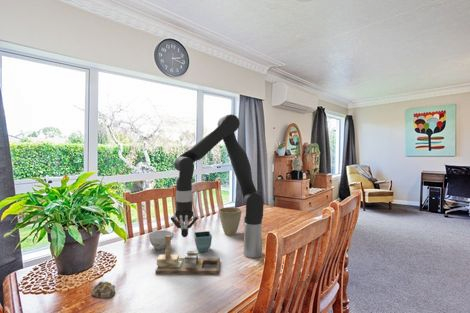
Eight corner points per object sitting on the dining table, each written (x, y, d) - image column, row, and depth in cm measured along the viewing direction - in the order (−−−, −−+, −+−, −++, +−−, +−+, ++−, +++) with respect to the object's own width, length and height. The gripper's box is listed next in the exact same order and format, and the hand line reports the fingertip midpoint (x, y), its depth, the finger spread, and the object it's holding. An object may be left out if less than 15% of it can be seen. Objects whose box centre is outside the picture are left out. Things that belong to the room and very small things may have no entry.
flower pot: (195, 254, 134) (195, 237, 134) (193, 247, 142) (193, 232, 142) (211, 252, 136) (212, 236, 136) (209, 246, 145) (209, 230, 144)
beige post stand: (178, 260, 122) (178, 233, 121) (176, 265, 117) (176, 237, 116) (159, 260, 122) (160, 233, 121) (156, 265, 117) (156, 237, 116)
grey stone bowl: (157, 254, 133) (157, 239, 133) (144, 248, 141) (144, 233, 141) (180, 246, 145) (180, 232, 144) (167, 240, 153) (167, 227, 152)
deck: (219, 261, 126) (219, 248, 126) (218, 274, 113) (218, 260, 113) (163, 261, 126) (163, 248, 125) (155, 274, 113) (155, 260, 112)
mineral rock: (85, 287, 98) (106, 274, 104) (89, 296, 99) (108, 282, 105) (99, 298, 91) (120, 283, 97) (102, 308, 93) (123, 292, 99)
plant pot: (242, 230, 173) (242, 207, 173) (240, 238, 159) (240, 213, 158) (220, 229, 175) (220, 206, 174) (216, 237, 160) (217, 212, 159)
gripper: (199, 198, 122) (199, 233, 122) (171, 198, 121) (172, 234, 122) (197, 201, 114) (197, 239, 115) (168, 201, 114) (168, 239, 115)
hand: (184, 236), depth 119 cm, fingers closed
